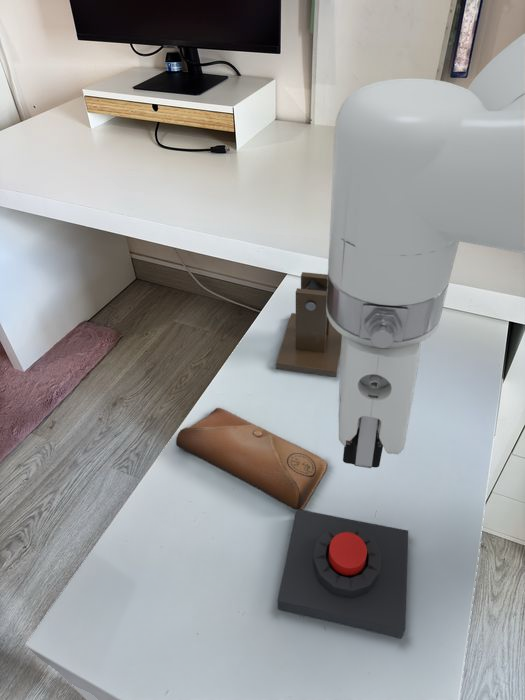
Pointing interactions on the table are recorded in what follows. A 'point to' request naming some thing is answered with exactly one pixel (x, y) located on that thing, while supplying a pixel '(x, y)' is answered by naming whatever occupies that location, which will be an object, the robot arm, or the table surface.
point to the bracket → (310, 333)
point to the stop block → (346, 591)
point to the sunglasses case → (255, 457)
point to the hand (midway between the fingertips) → (361, 457)
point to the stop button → (347, 553)
